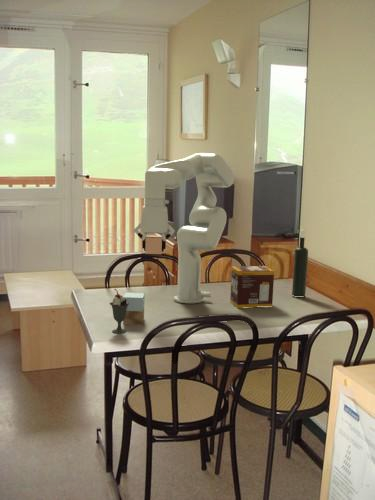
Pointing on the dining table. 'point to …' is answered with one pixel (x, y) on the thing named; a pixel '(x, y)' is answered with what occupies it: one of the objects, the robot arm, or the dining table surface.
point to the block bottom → (134, 317)
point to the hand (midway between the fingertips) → (153, 250)
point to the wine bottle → (300, 268)
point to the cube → (153, 245)
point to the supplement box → (251, 286)
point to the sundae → (119, 311)
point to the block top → (135, 301)
